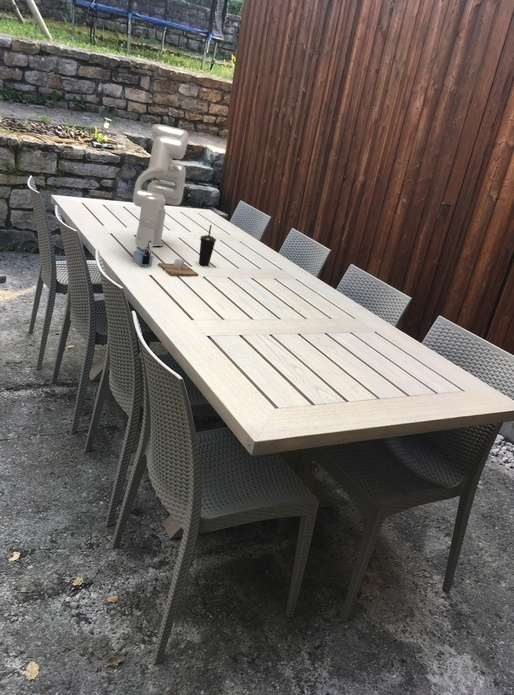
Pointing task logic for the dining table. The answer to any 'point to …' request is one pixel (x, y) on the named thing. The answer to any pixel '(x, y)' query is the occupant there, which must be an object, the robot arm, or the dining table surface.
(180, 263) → the pale wood block
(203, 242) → the drinking cup
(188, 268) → the board
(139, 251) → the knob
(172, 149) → the robot arm
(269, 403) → the dining table surface
